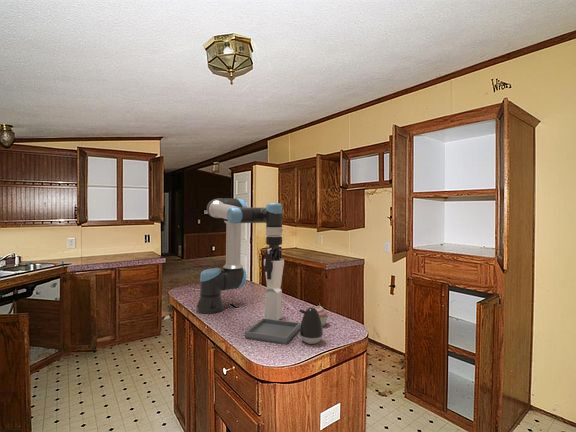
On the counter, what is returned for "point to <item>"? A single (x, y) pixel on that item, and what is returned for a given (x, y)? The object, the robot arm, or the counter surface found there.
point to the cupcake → (322, 314)
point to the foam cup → (276, 273)
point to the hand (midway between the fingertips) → (273, 283)
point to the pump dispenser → (311, 326)
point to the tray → (273, 331)
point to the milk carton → (273, 304)
